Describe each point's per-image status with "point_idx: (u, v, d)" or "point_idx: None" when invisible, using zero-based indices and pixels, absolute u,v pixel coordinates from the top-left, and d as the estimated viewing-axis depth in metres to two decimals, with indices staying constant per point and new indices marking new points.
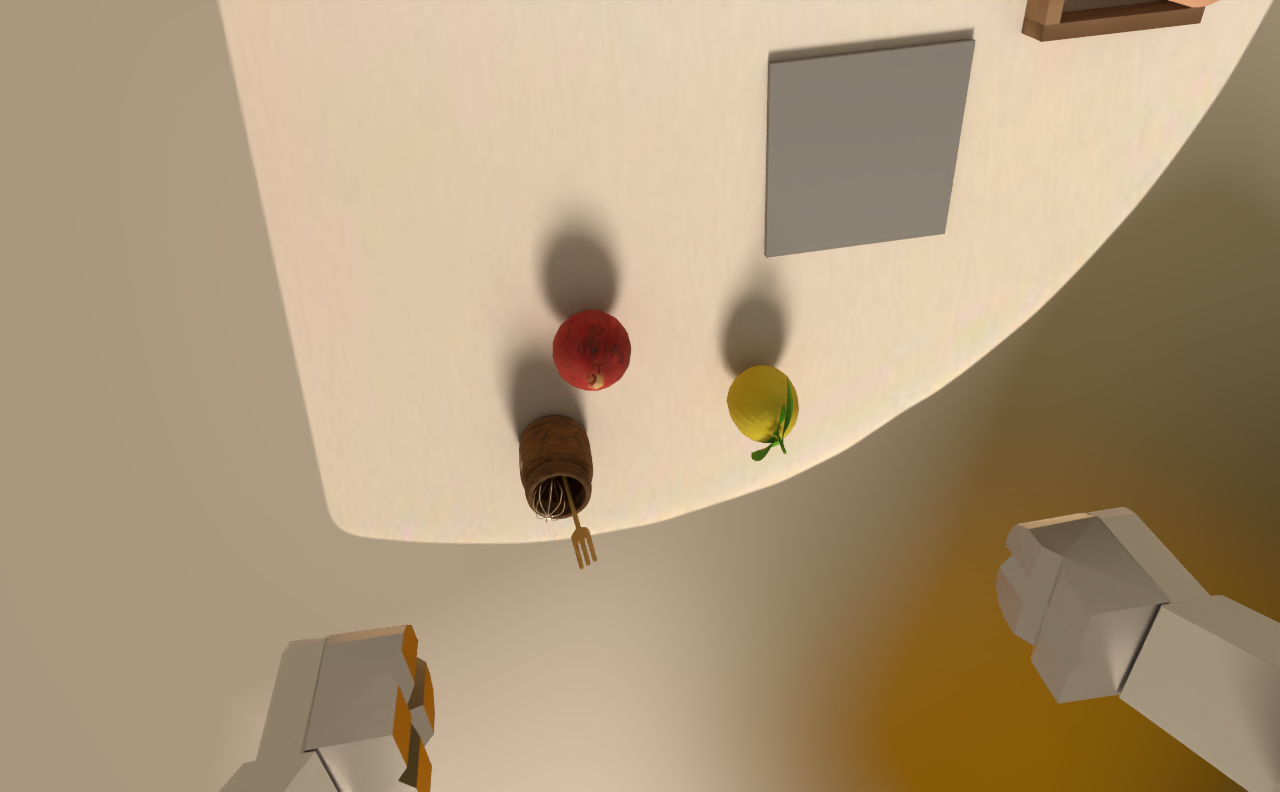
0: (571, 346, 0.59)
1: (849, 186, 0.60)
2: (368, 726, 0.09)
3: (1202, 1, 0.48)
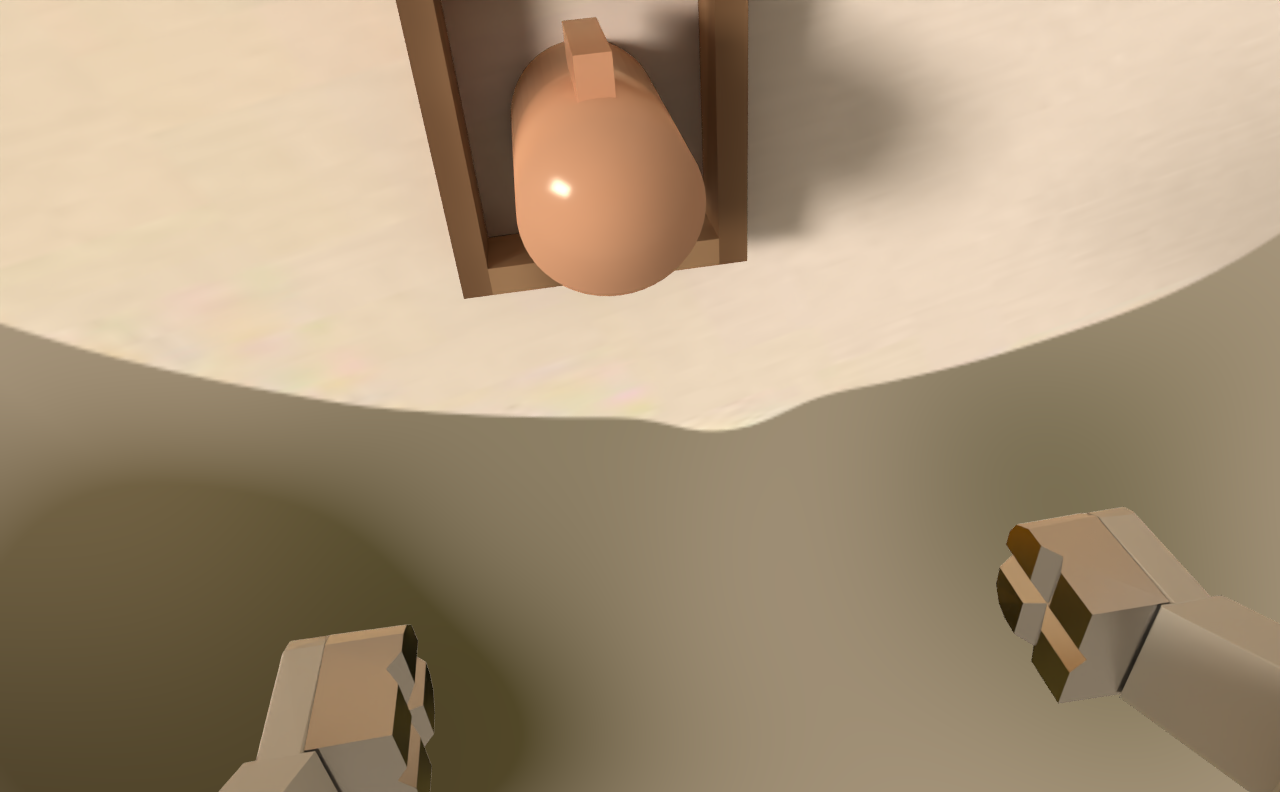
0: None
1: None
2: (368, 726, 0.09)
3: (528, 224, 0.22)
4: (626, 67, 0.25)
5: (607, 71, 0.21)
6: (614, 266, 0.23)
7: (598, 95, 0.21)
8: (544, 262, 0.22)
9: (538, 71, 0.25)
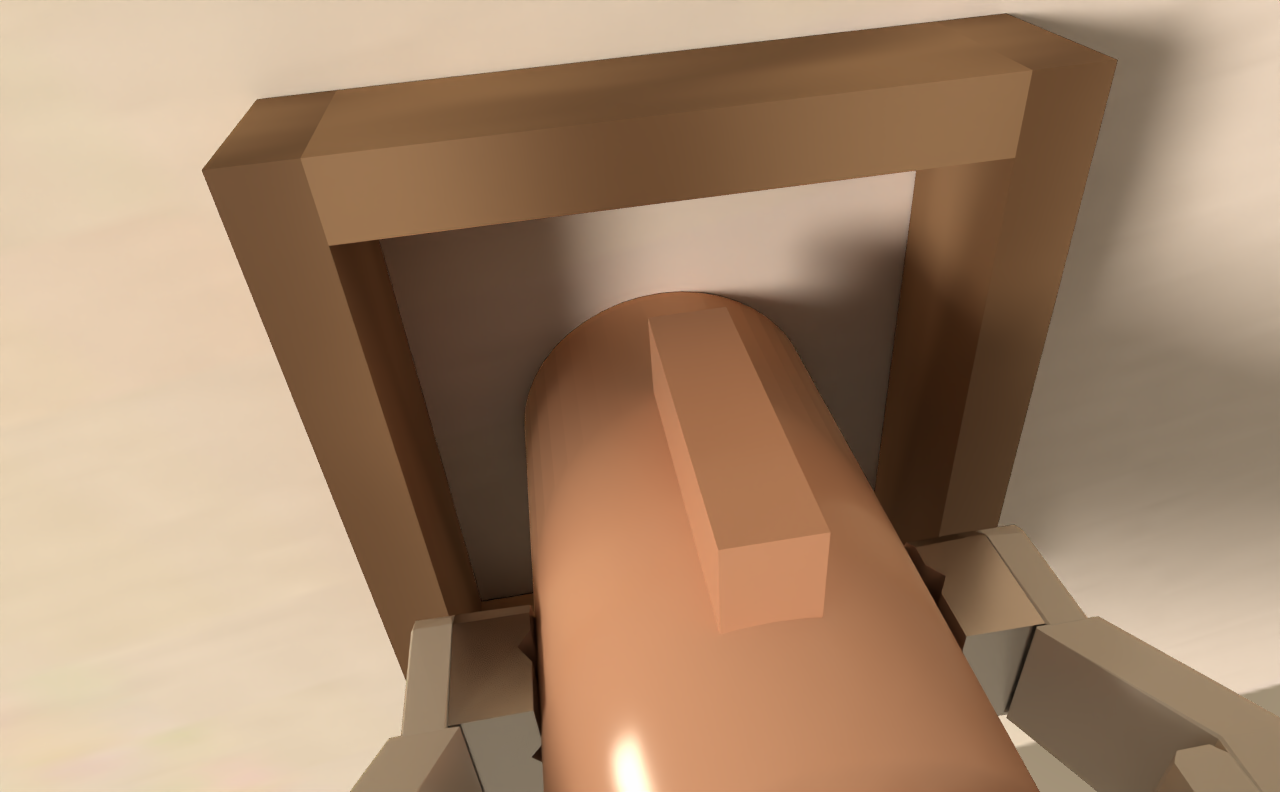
0: None
1: None
2: (508, 702, 0.09)
3: None
4: (785, 399, 0.11)
5: (810, 572, 0.07)
6: None
7: (777, 616, 0.08)
8: None
9: (587, 391, 0.12)
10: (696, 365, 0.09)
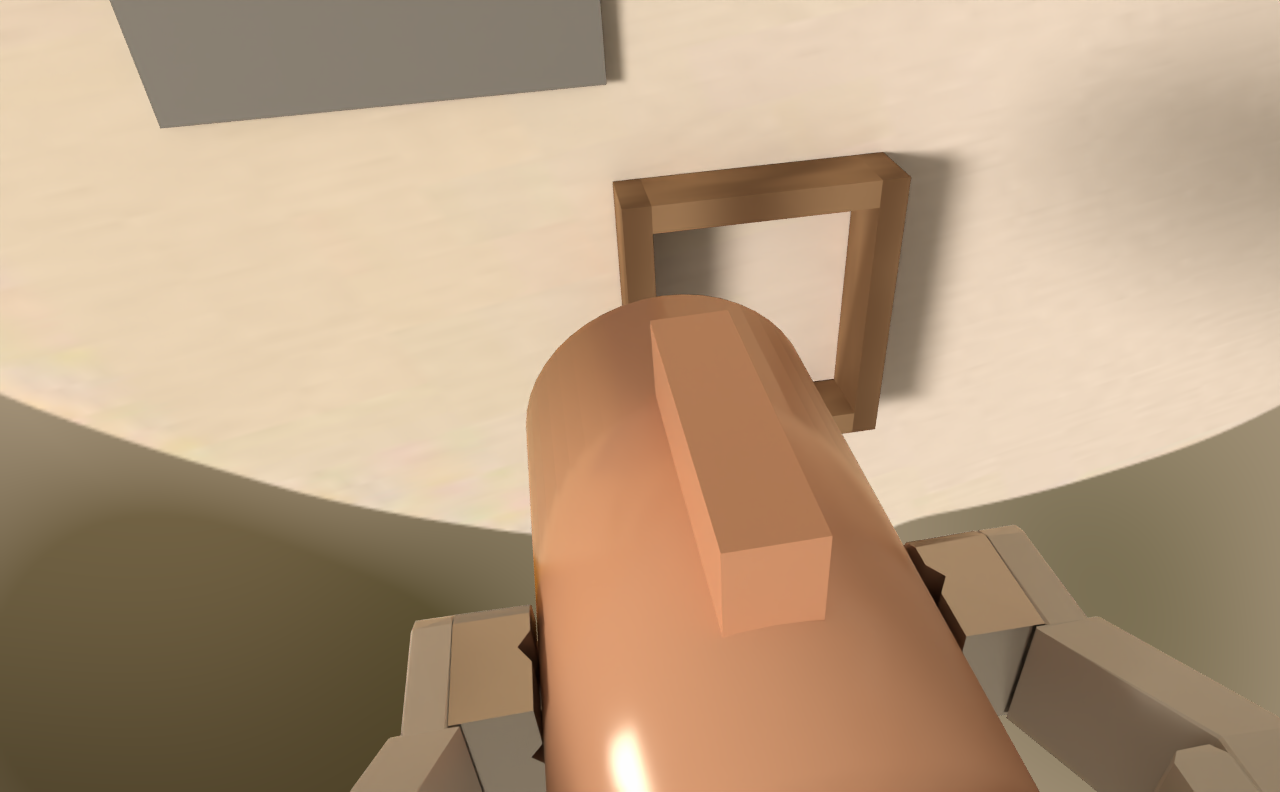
0: None
1: None
2: (508, 702, 0.09)
3: None
4: (786, 402, 0.11)
5: (812, 575, 0.08)
6: None
7: (779, 619, 0.08)
8: None
9: (589, 393, 0.12)
10: (698, 368, 0.09)
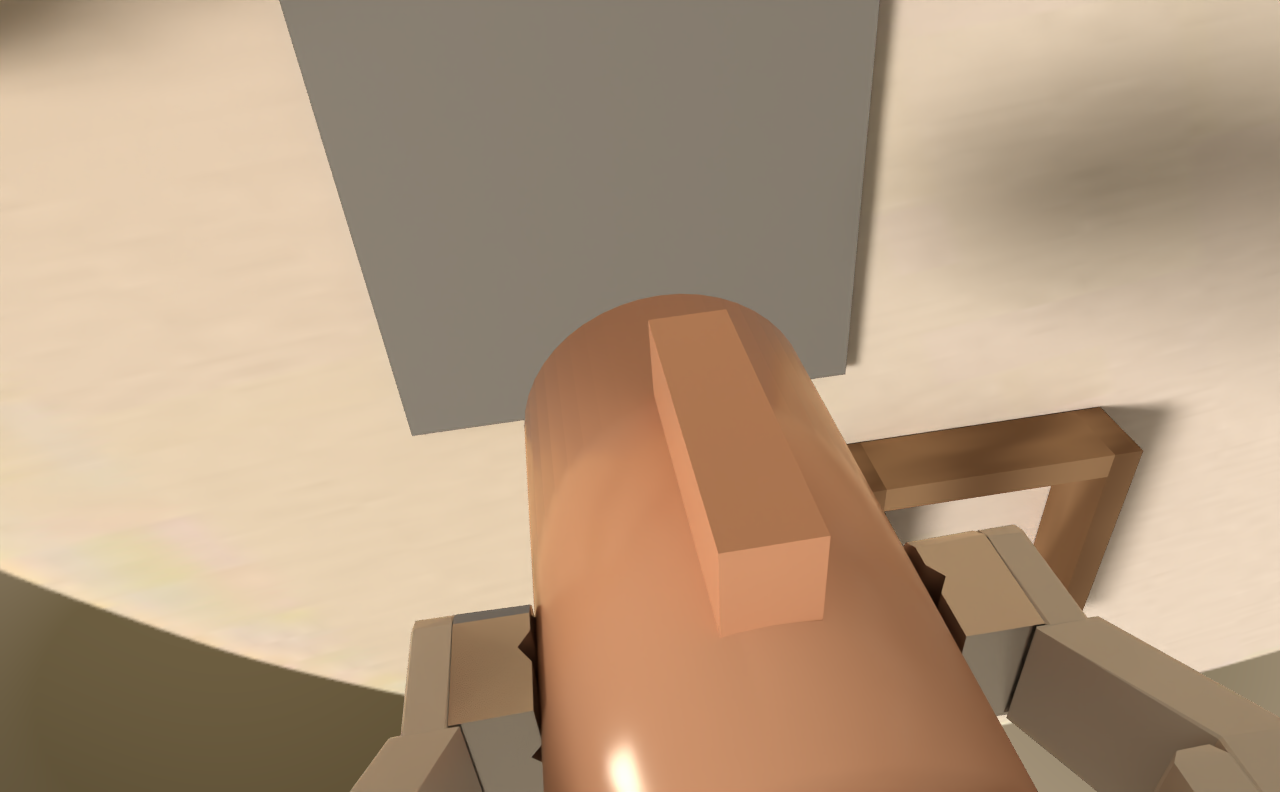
0: None
1: (528, 173, 0.22)
2: (508, 702, 0.09)
3: None
4: (785, 401, 0.11)
5: (810, 575, 0.07)
6: None
7: (777, 620, 0.08)
8: None
9: (587, 393, 0.12)
10: (696, 368, 0.09)
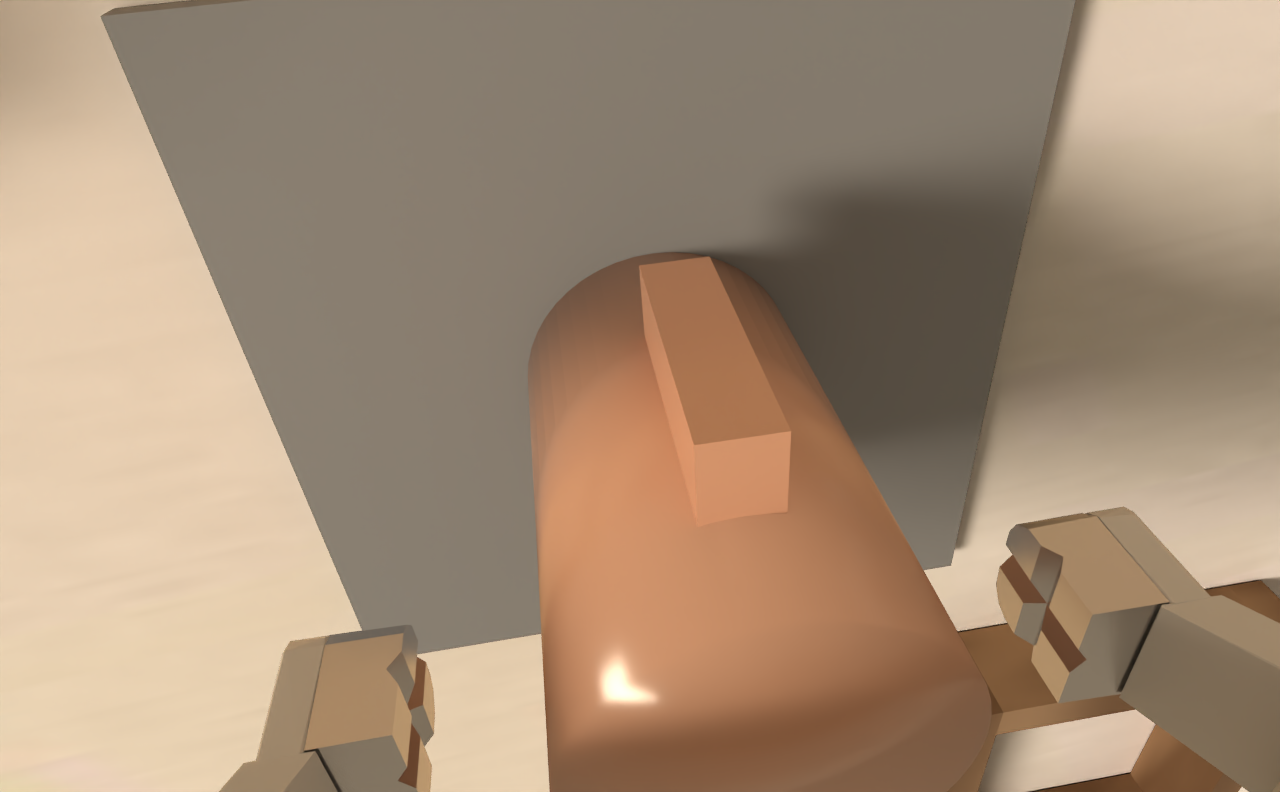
0: None
1: None
2: (368, 726, 0.09)
3: None
4: (763, 343, 0.12)
5: (774, 469, 0.09)
6: None
7: (747, 511, 0.09)
8: None
9: (585, 338, 0.13)
10: (681, 303, 0.11)
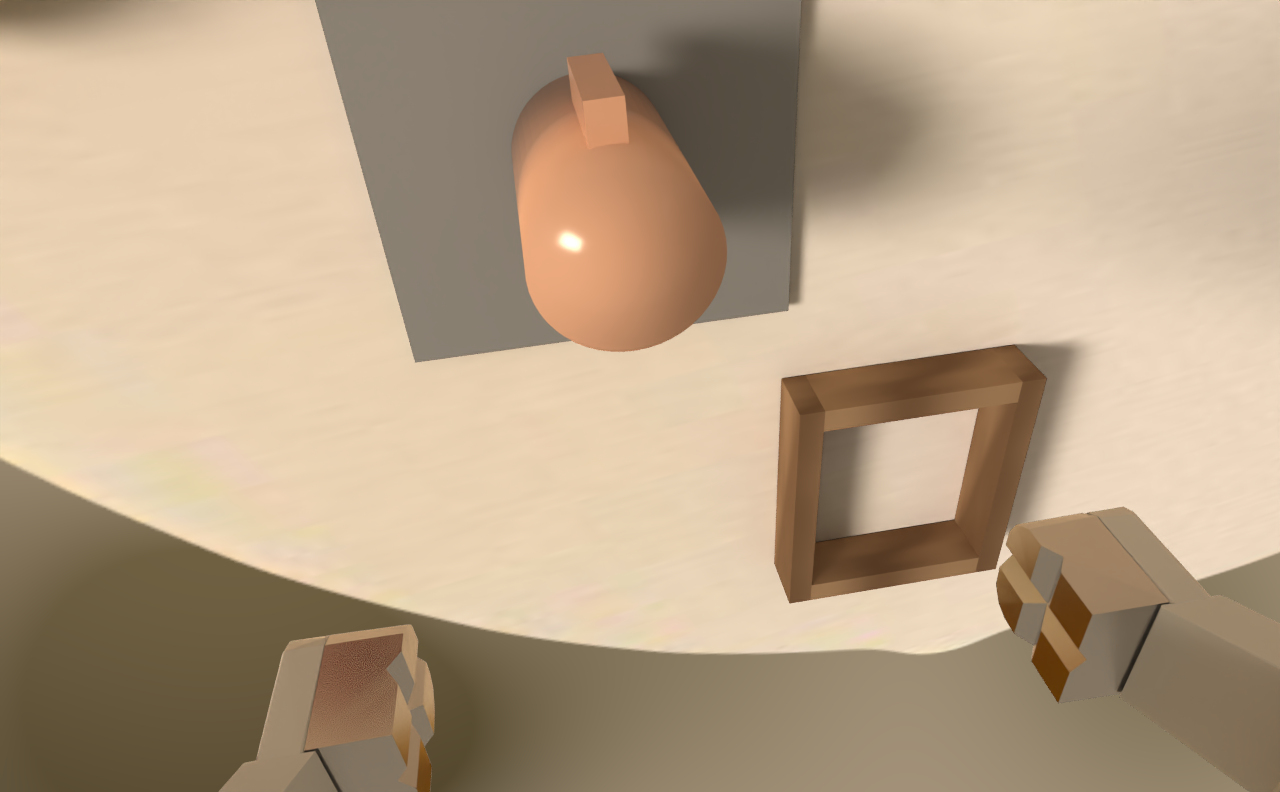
0: None
1: (513, 130, 0.26)
2: (368, 726, 0.09)
3: (538, 281, 0.20)
4: (635, 104, 0.23)
5: (620, 116, 0.20)
6: (629, 321, 0.21)
7: (610, 141, 0.20)
8: (555, 319, 0.21)
9: (541, 109, 0.24)
10: (585, 67, 0.22)
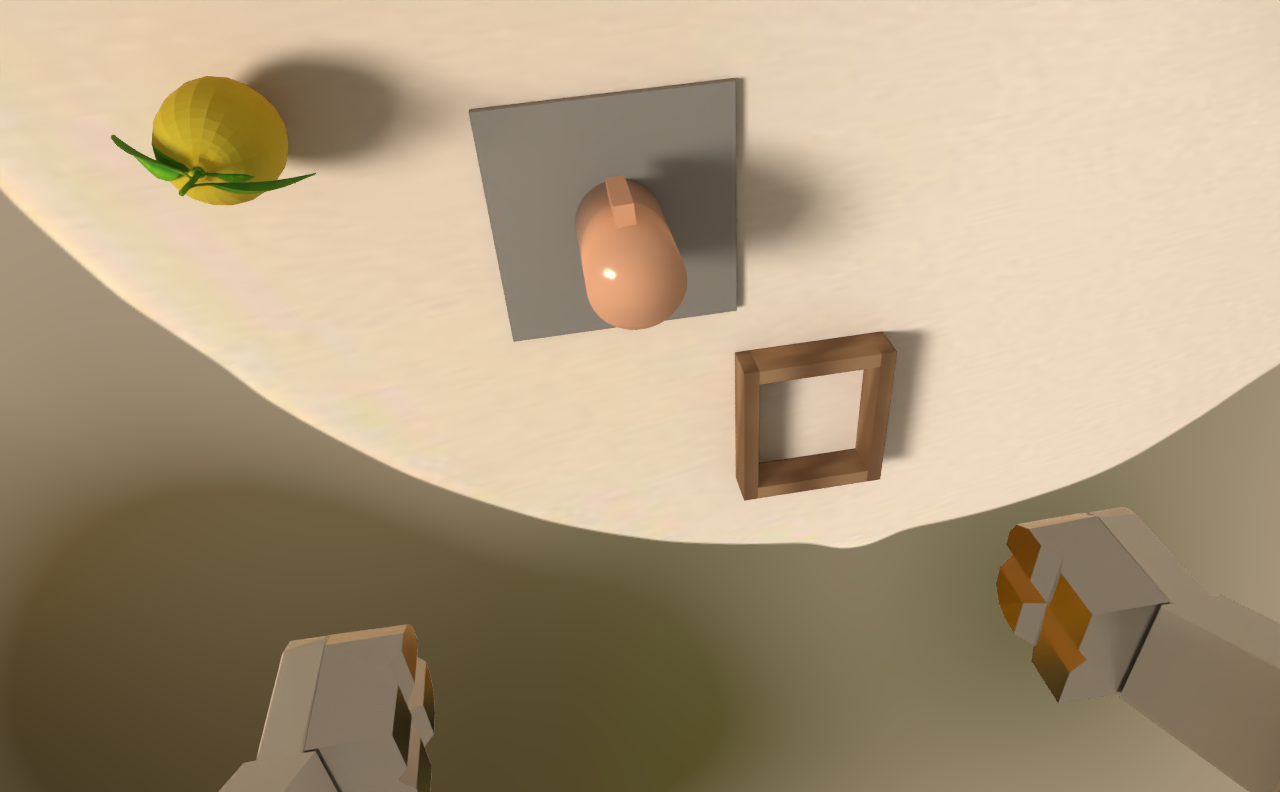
0: None
1: (576, 210, 0.46)
2: (368, 726, 0.09)
3: (593, 294, 0.41)
4: (642, 199, 0.44)
5: (631, 212, 0.40)
6: (639, 313, 0.42)
7: (627, 224, 0.40)
8: (601, 313, 0.41)
9: (592, 202, 0.44)
10: (614, 184, 0.42)
